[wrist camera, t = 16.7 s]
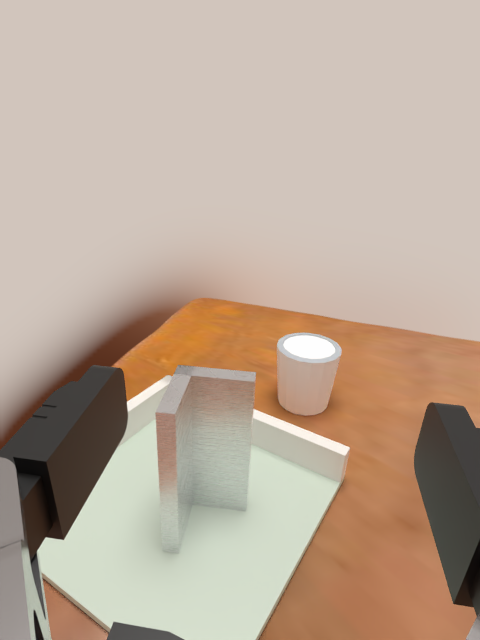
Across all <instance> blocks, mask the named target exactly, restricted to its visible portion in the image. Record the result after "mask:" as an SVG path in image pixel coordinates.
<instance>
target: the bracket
mask: <svg viewBox="0 0 480 640" xmlns="http://www.w3.org/2000/svg"><path fill="white" fill-rule="evenodd" d="M255 381H256V372H246V371H236V370H225V369H215V368H204V367H194V366H184V365H178V367H177V369H176V371H175V373H174V375H173V377H172V379H171V381H170V383H169V385H168V387H167V389H166V391H165V393H164V395H163V397H162V400H161V402H160V404H159V406H158V408H157V410H156V412H155V415H156V434H157V454H158V473H159V492H160V512H161V531H162V550H163V552H171V553H178V554H179V553H180V549H181V545H182V542H183V538H184V534H185V530H186V527H187V523H188V519H189V516H190V512H191V508H192V505H198V506H206V507H214V508H222V509H230V510H238V511H246V510H247V502H248V489H249V474H250V458H251V443H252V427H253V412H254V396H255Z"/></svg>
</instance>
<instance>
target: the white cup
mask: <svg viewBox="0 0 480 640" xmlns="http://www.w3.org/2000/svg"><path fill="white" fill-rule="evenodd" d="M340 356H341V348H340V346H339V345H338V343H336V342H335V341H333V340H331V339H330V338H327V337H324V336H321V335H318V334H311V333H293V334H289V335H285V336H284V337H282V338H281V339H279V341H278V344H277V378H278V400H279V403H280V405H281V406H282V407H283V408H284V409H285V410H287V411H290V412H292V413H294V414H298V415H304V416H307V415H316V414H319V413H322V412H323V411H324V410H325V409H326V408H327V405H328V402H329V398H330V394H331V390H332V387H333V383H334V379H335V375H336V371H337V368H338V364H339V360H340Z"/></svg>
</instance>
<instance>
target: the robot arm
mask: <svg viewBox="0 0 480 640" xmlns="http://www.w3.org/2000/svg"><path fill="white" fill-rule="evenodd" d="M127 422H128V409H127V399H126V390H125V380H124V373H123V371H122V369H121V368H114V367H105V366H96V365H94V366H91V367H90V368H89V369H88V371H87V372H86V373H85V374H84V375H83V377H82V378H81V379H80V380H79V381H78V382H73V381H71V382H69V383H68V384H66V385H64V386H63V387H61V388H59V389H58V390H56V391H54V392H53V393H52V394H51V396H50V397H49V398H48V399H47V400H46V401H45V402H44V403H43V404H42V407H40V408H39V409H38V410H37V411H36V412H35V413H34V414H33V417H32V418H29V419H28V421H27V422H26V423H25V424H24V425H23V426H22V427H21V428H20V429H19V430H18V432H17V433H16V434H15V435H14V436H13V437H12V438H11V439H10V440H9V441H8V442H7V444H6V445H5V446H4V447H3V448H2V449H1V450H0V640H51V634H50V628H49V621H48V614H47V607H46V601H45V594H44V587H43V580H42V573H41V566H40V559H39V554H38V549H39V547H40V546H41V544H42V542H43V541H44V539H45V538H46V537H47V538H53V539H60V540H64V539H65V537H66V535H67V534H68V532H69V530H70V529H71V527H72V525H73V523H74V522H75V520H76V518H77V516H78V515H79V513H80V511H81V509H82V508H83V506H84V504H85V502H86V501H87V499H88V497H89V496H90V494H91V492H92V490H93V489H94V487H95V485H96V483H97V482H98V480H99V478H100V476H101V475H102V473H103V471H104V469H105V468H106V466H107V464H108V462H109V461H110V459H111V457H112V456H113V454H114V452H115V450H116V449H117V447H118V445H119V443H120V442H121V440H122V438H123V436H124V434H125V431H126V428H127ZM414 468H415V474H416V478H417V482H418V485H419V488H420V492H421V495H422V499H423V502H424V505H425V509H426V512H427V516H428V519H429V522H430V526H431V529H432V533H433V536H434V539H435V543H436V546H437V550H438V553H439V557H440V560H441V563H442V567H443V570H444V574H445V577H446V580H447V584H448V587H449V591H450V594H451V597H452V601H453V604H457V605H463V606H469V607H474V609H475V612H476V615H477V618H476V620H475V622H474V624H473V626H472V628H471V630H470V632H469V634H468V636H467V638H466V640H480V428H476V427H475V425H474V423H473V422H472V420H471V418H470V416H469V414H468V412H467V410H466V409H465V407H464V406H459V405H450V404H441V403H430V404H429V405H428V406H427V409H426V412H425V416H424V420H423V423H422V427H421V431H420V434H419V438H418V442H417V445H416V449H415V456H414ZM107 640H184V639H182V638H180V637H179V636H177V635H175V634H173V633H171V632H169V631H163V630H157V629H152V628H146V627H141V626H135V625H130V624H124V623H119V622H113V624H112V627H111V630H110V632H109V635H108V637H107Z"/></svg>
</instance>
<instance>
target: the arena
mask: <svg viewBox="0 0 480 640" xmlns="http://www.w3.org/2000/svg"><path fill="white" fill-rule="evenodd" d="M171 379H172V376H170V375H167V376H165V377H164V378H162V379H161V380H159V381H158V382H156V383H155V384H153V385H152V386H150V387H149V388H147V389H146V390H144V391H143V392H141V393H140V394H138V395H137V396H135V397H134V398H132V399H131V400H129V401H128V402H127V409H128V422H127V428H126V431H125V434H124V436H123V438H122V440H121V442H120V443H119V445H118V447H117V449H116V450H115V452H114V454H113V456H112V457H111V459H110V461H109V462H108V464H107V466H106V468H105V469H104V471H103V473H102V475H101V476H100V478H99V480H98V482H97V483H96V485H95V487H94V489H93V490H92V492H91V494H90V496H89V497H88V499H87V501H86V502H85V504H84V506H83V508H82V509H81V511H80V513H79V515H78V516H77V518H76V520H75V522H74V523H73V525H72V527H71V529H70V530H69V532H68V534H67V535H66V537H65V539H64V540H60V539H53V538H47V537H46V538H45V539H44V541H43V542H42V544H41V546H40V547H39V549H38V554H39V559H40V566H41V573H42V578H44V579H45V580H46V581H47V582H48V583H50V584H51V585H52V586H53V587H54V588H56V589H57V590H58V591H59V592H60V593H62V594H63V595H64V596H65V597H66V598H68V599H69V600H70V601H71V602H73V603H74V604H75V605H76V606H77V607H79V608H80V609H81V610H82V611H83V612H85V613H86V614H87V615H88V616H89V617H91V618H92V619H93V620H94V621H95V622H97V623H98V624H99V625H100V626H102V627H103V628H104V629H105V630H106V631H108V632H110V630H111V627H112V624H113V622H119V623H124V624H130V625H135V626H141V627H146V628H152V629H157V630H163V631H169V632H171V633H173V634H175V635H177V636H179V637H180V638H182V639H184V640H258V639H259V637H260V636H261V634H262V632H263V630H264V628H265V626H266V624H267V622H268V621H269V619H270V617H271V615H272V613H273V611H274V609H275V608H276V606H277V604H278V602H279V600H280V598H281V596H282V594H283V593H284V591H285V589H286V587H287V585H288V583H289V581H290V580H291V578H292V576H293V574H294V572H295V570H296V568H297V566H298V565H299V563H300V561H301V559H302V557H303V555H304V553H305V551H306V550H307V548H308V546H309V544H310V542H311V540H312V538H313V537H314V535H315V533H316V531H317V529H318V527H319V525H320V523H321V522H322V520H323V518H324V516H325V514H326V512H327V510H328V509H329V507H330V505H331V503H332V501H333V499H334V497H335V495H336V494H337V492H338V490H339V488H340V486H341V484H342V482H343V481H344V477H345V472H346V466H347V461H348V456H349V450H350V447H347V446H345V445H342V444H340V443H337V442H335V441H332V440H330V439H327V438H325V437H322V436H320V435H317V434H315V433H312V432H310V431H307V430H305V429H302V428H300V427H297V426H295V425H292V424H290V423H287V422H285V421H282V420H280V419H277V418H275V417H272V416H270V415H267V414H265V413H262V412H260V411H257V410H255V409H254V412H253V427H252V443H251V458H250V474H249V489H248V502H247V510H246V511H238V510H230V509H222V508H214V507H206V506H198V505H192V508H191V512H190V516H189V519H188V523H187V527H186V530H185V534H184V538H183V542H182V545H181V549H180V553H179V554H178V553H171V552H163V550H162V531H161V512H160V492H159V473H158V454H157V434H156V415H155V412H156V410H157V408H158V406H159V404H160V402H161V400H162V397H163V395H164V393H165V391H166V389H167V387H168V385H169V383H170V381H171Z"/></svg>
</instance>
